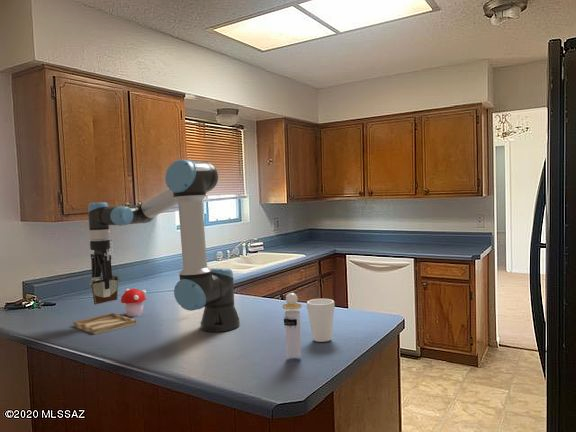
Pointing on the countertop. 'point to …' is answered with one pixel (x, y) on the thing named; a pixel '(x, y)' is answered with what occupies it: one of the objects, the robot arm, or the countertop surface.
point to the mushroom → (133, 301)
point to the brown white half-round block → (98, 291)
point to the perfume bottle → (292, 326)
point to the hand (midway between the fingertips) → (102, 295)
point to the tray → (104, 323)
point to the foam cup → (321, 318)
